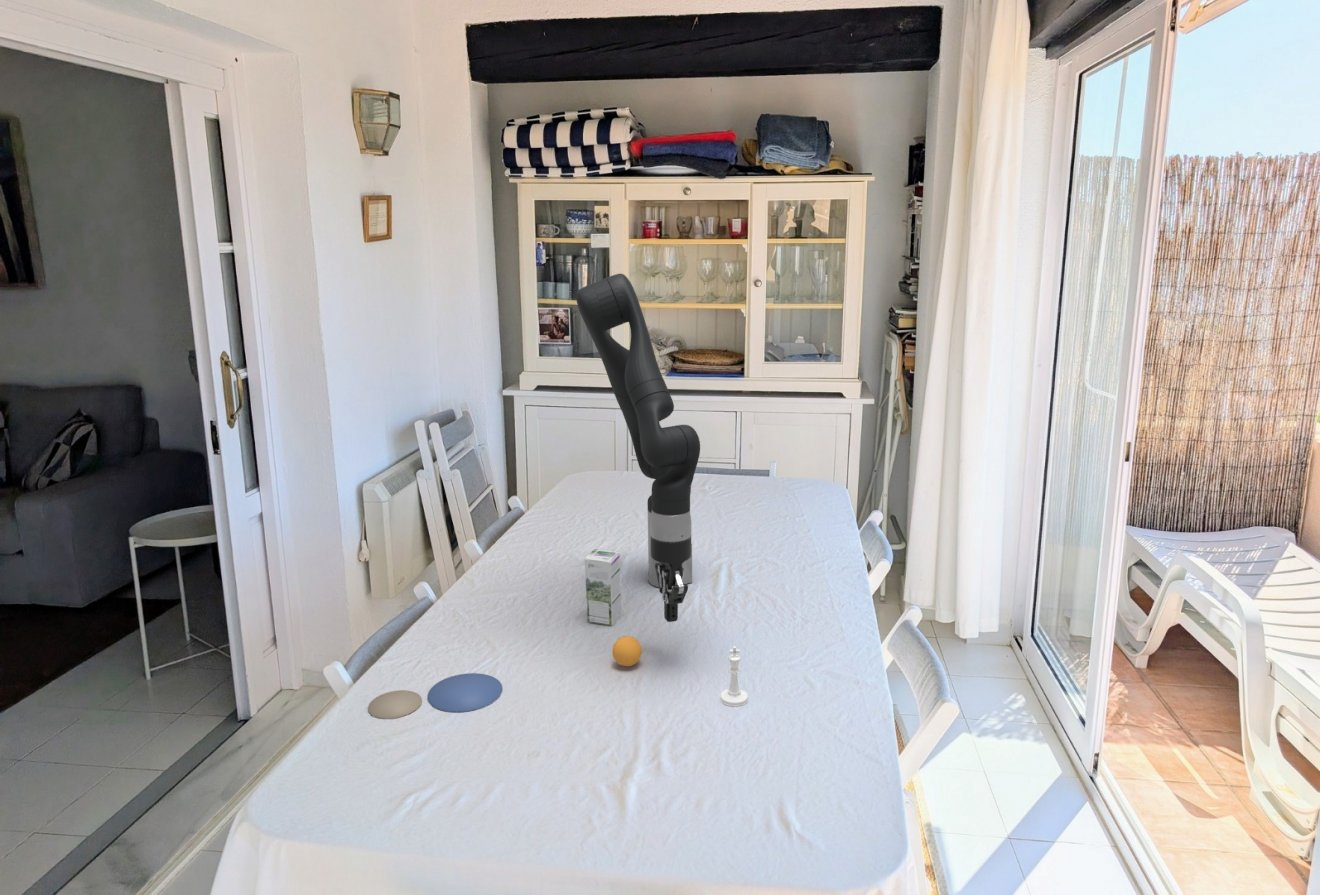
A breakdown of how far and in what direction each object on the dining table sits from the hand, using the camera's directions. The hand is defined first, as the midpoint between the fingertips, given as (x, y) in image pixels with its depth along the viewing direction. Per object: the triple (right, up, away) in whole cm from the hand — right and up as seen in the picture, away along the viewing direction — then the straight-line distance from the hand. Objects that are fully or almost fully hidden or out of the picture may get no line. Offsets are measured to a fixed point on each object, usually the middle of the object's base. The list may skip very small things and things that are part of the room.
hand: (670, 619), depth 172 cm
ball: (-8, -6, -1) cm, 10 cm away
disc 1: (-48, -12, -13) cm, 51 cm away
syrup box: (-14, -3, +18) cm, 23 cm away
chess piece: (+11, -12, -13) cm, 20 cm away
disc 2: (-37, -11, -10) cm, 39 cm away
